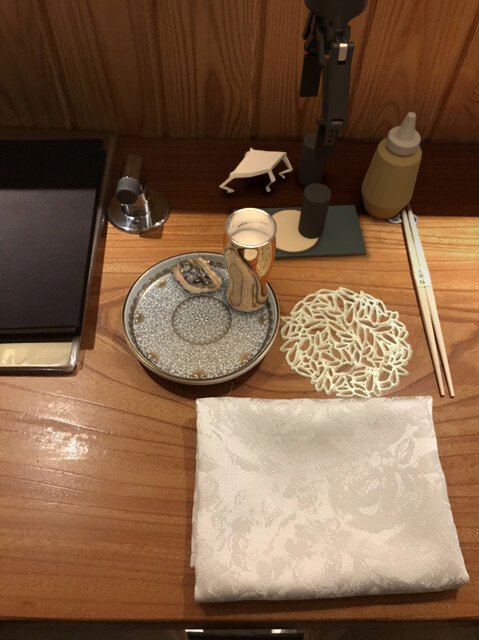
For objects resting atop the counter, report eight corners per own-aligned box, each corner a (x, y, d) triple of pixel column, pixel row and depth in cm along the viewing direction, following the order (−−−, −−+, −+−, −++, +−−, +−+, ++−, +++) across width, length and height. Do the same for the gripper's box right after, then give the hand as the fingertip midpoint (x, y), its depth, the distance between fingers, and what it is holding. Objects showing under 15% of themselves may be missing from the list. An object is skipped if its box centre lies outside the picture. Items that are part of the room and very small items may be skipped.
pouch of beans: (189, 249, 87) (188, 241, 86) (233, 271, 85) (233, 264, 83) (163, 279, 84) (162, 271, 82) (208, 303, 82) (208, 295, 80)
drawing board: (354, 207, 92) (355, 204, 92) (365, 255, 87) (366, 252, 87) (233, 212, 91) (233, 208, 91) (237, 260, 86) (237, 257, 86)
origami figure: (258, 154, 99) (259, 131, 94) (293, 179, 96) (296, 156, 91) (208, 189, 94) (207, 166, 90) (244, 215, 91) (244, 193, 87)
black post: (320, 170, 97) (327, 132, 90) (322, 186, 95) (330, 149, 88) (297, 170, 97) (302, 132, 90) (299, 186, 95) (304, 149, 88)
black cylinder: (321, 219, 90) (329, 182, 83) (325, 238, 88) (333, 202, 81) (296, 220, 90) (302, 183, 83) (299, 239, 88) (305, 203, 81)
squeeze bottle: (411, 198, 94) (447, 106, 79) (398, 231, 90) (433, 141, 75) (365, 182, 95) (391, 90, 80) (350, 215, 92) (374, 123, 76)
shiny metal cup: (213, 292, 83) (211, 223, 70) (249, 268, 85) (253, 198, 73) (244, 323, 80) (247, 257, 67) (280, 297, 83) (290, 229, 70)
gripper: (292, -83, 69) (278, 73, 87) (326, 34, 56) (301, 189, 74) (352, -84, 70) (326, 71, 88) (399, 32, 57) (357, 186, 75)
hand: (315, 125), depth 81 cm, fingers open, 13 cm apart
